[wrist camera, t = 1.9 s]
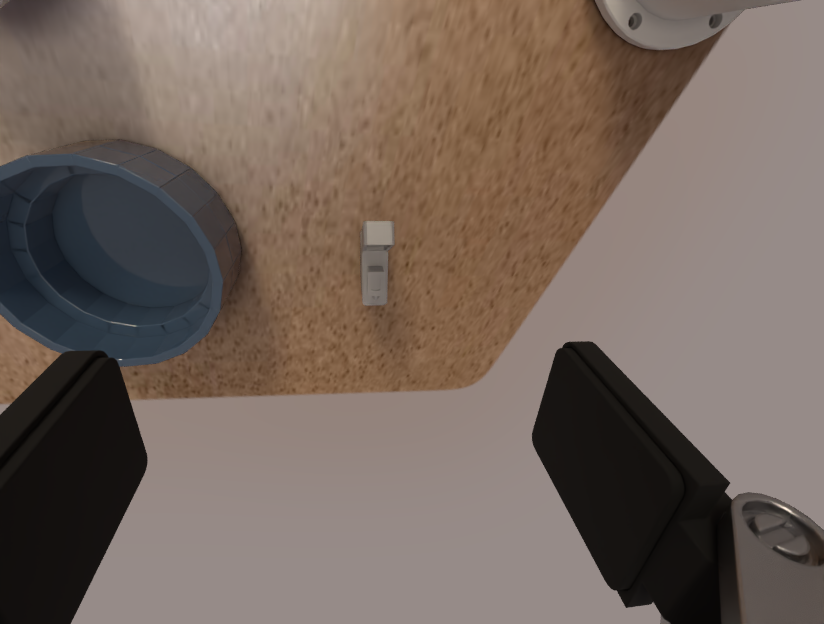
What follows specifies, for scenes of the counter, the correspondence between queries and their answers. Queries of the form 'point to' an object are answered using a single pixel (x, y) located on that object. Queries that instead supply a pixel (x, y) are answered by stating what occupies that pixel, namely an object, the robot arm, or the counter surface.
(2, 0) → the grey polyhedron
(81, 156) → the bowl
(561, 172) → the counter surface
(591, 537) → the robot arm
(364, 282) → the lighter
